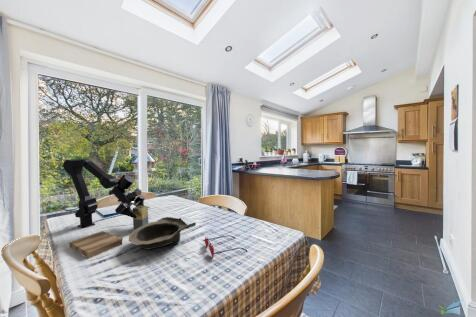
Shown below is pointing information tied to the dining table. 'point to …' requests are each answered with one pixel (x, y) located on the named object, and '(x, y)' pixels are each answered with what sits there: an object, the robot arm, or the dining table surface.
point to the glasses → (213, 248)
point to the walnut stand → (95, 244)
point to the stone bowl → (158, 233)
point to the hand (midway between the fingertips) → (141, 214)
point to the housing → (140, 216)
